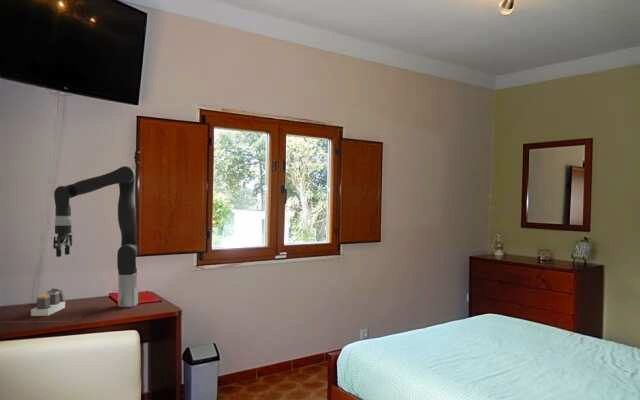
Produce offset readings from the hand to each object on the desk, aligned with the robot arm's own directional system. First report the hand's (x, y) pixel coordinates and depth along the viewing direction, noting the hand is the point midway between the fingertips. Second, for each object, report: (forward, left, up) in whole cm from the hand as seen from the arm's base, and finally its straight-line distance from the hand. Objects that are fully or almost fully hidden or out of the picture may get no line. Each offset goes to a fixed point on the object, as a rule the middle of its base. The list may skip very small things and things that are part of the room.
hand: (63, 255), depth 233 cm
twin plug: (+3, +4, -27) cm, 27 cm away
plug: (+3, +13, -27) cm, 30 cm away
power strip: (+3, +8, -28) cm, 29 cm away
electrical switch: (+8, -10, -28) cm, 31 cm away
